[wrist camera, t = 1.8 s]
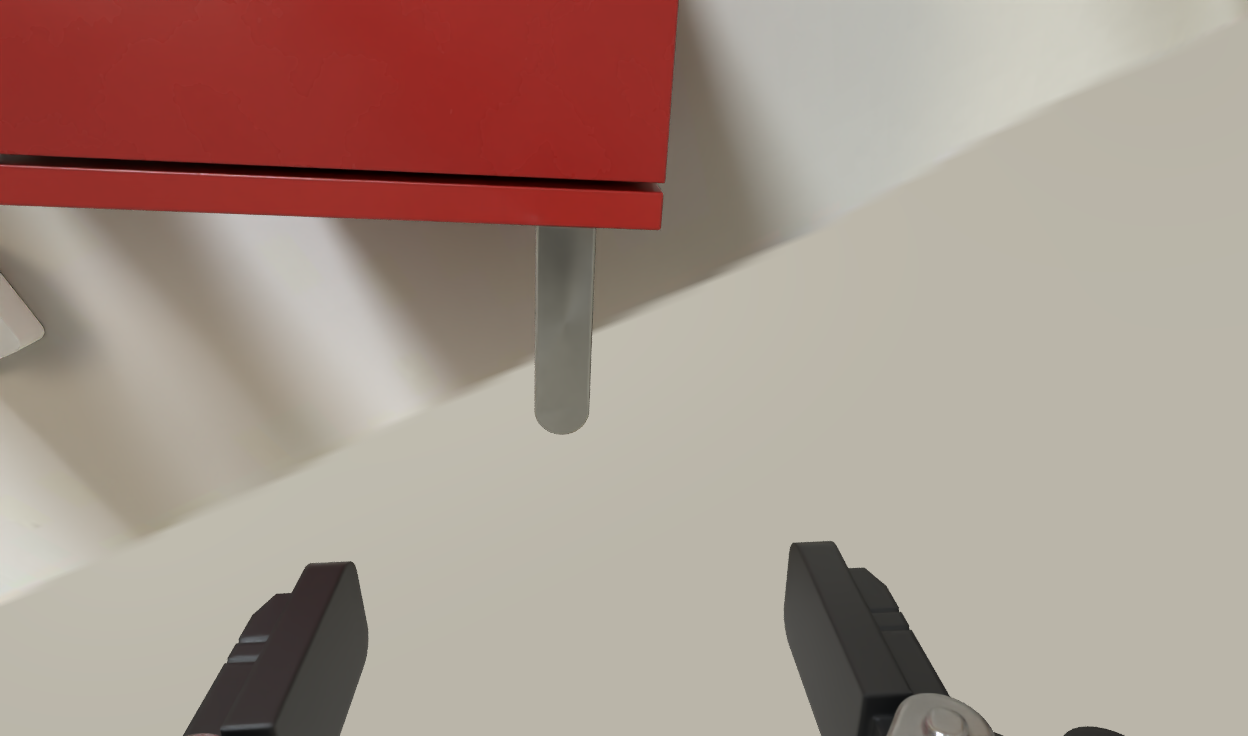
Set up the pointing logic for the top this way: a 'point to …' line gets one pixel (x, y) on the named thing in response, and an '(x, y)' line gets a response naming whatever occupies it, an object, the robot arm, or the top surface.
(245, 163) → the red upright rectangular box
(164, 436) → the top surface
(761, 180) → the top surface
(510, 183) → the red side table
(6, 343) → the cable organizer
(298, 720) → the robot arm
